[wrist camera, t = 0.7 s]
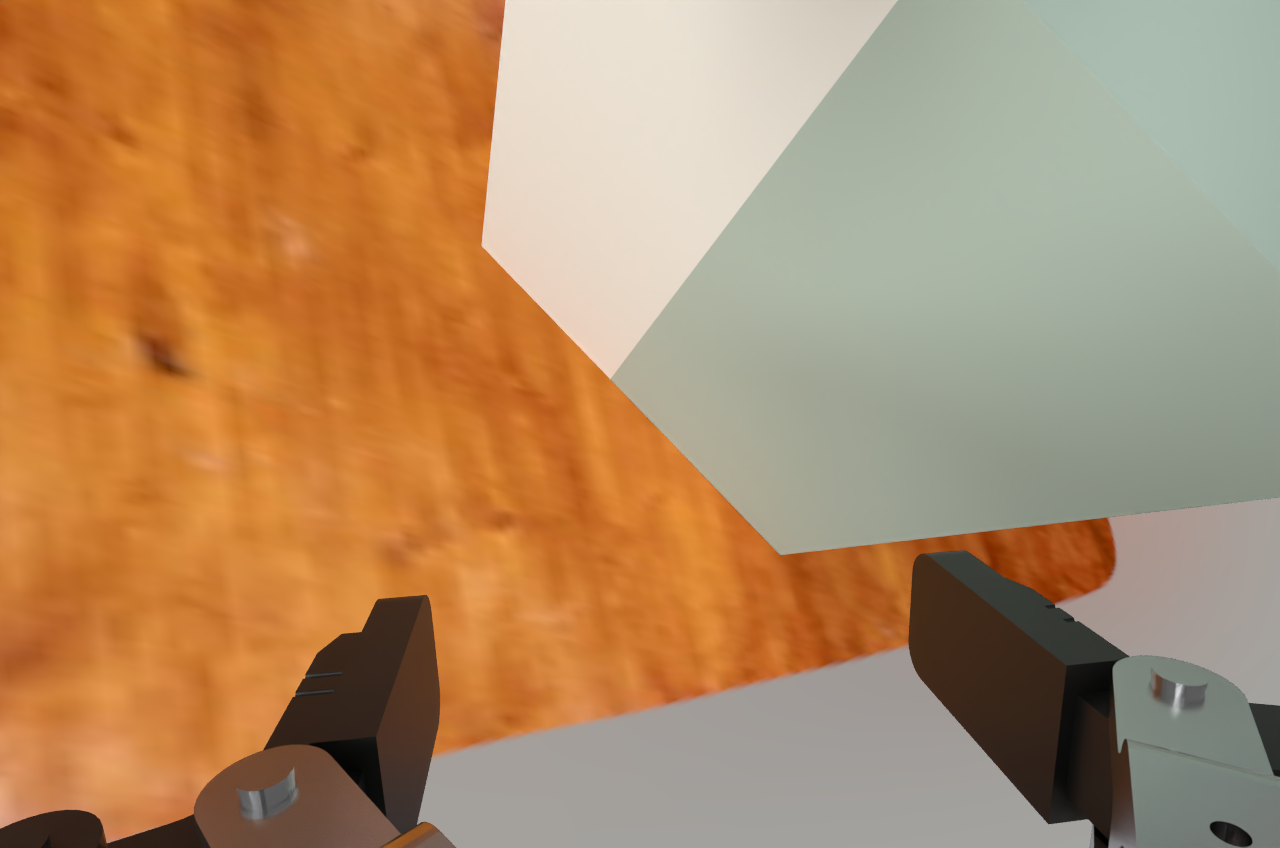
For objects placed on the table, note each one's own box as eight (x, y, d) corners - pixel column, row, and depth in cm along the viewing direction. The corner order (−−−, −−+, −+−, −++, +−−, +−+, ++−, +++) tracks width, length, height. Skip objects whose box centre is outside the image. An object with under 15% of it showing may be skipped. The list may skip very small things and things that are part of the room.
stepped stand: (780, 554, 36) (2411, 367, 6) (481, 245, 36) (659, -1557, 6) (955, 350, 42) (2303, -295, 11) (695, 78, 41) (1375, -1331, 11)
